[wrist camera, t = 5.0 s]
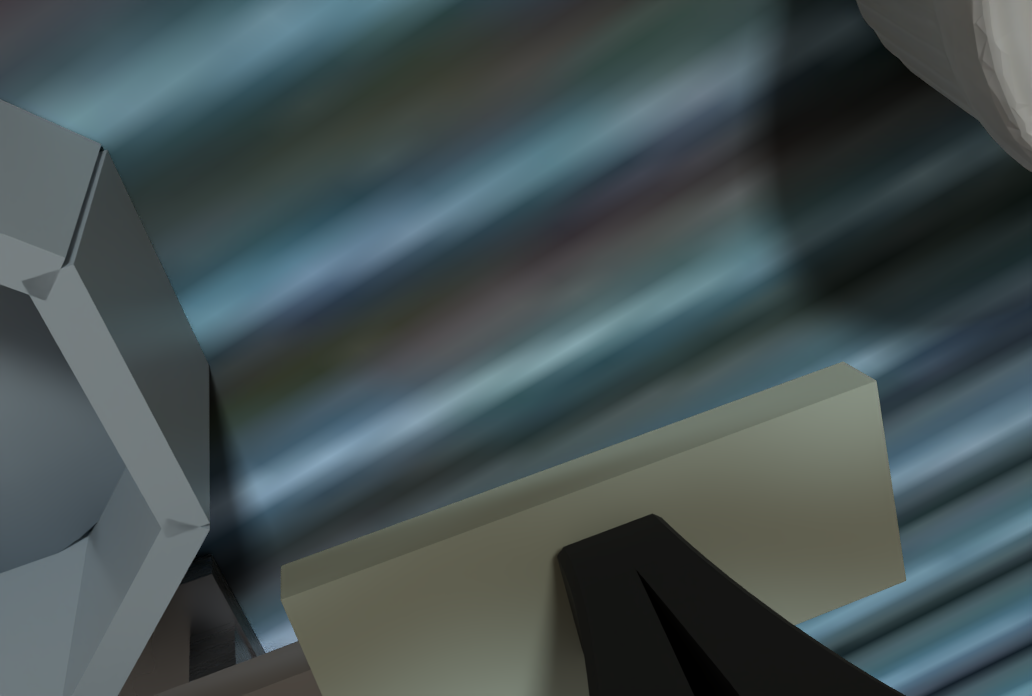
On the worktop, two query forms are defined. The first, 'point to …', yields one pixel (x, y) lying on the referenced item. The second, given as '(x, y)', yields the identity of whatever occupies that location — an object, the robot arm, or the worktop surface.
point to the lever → (576, 516)
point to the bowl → (89, 420)
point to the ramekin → (968, 58)
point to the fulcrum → (194, 634)
